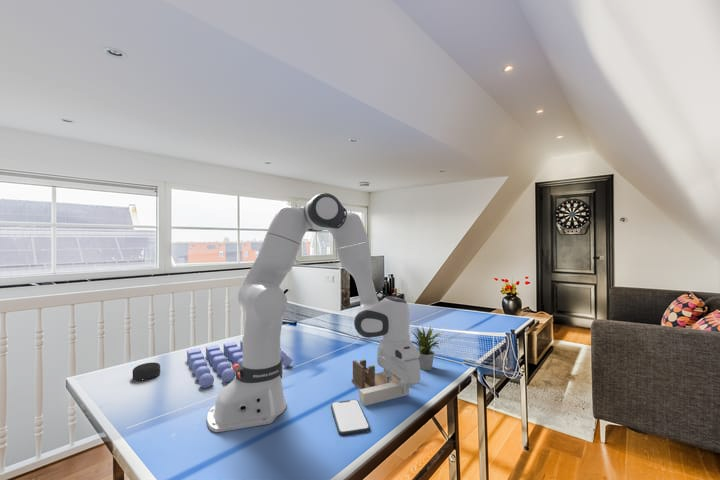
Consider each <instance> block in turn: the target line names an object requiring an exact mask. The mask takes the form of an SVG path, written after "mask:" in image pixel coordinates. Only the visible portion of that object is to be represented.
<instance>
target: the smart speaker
mask: <svg viewBox="0 0 720 480" xmlns="http://www.w3.org/2000/svg"><path fill="white" fill-rule="evenodd" d="M160 374H161V364H160V363H158V362H146V363H142V364H139V365H136V366H135V367H134V368H133V369H132V379H133V380H135V379H136V380H135V381H143V380H142V379H148V380H150V379H149V378H151V379H154V378H155V376H156V377H158V376H159V375H160ZM157 375H158V376H157ZM153 377H154V378H153Z"/></svg>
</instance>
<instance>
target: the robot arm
mask: <svg viewBox="0 0 720 480" xmlns="http://www.w3.org/2000/svg"><path fill="white" fill-rule="evenodd" d="M322 231H329V232H330V233H331V235H332V238H333V239H334V244H335V249H336V252H337V257H338V259H339V262H340V265H341V266H342V268H343V269H344V270H345V271H346V272H348V273H349V274H350V275H351V276H352V278H353V280H354V282H355V285H356V288H357V293H358V298H359V301H360V306H359V311H358V312H357V314H356V316H355V317H354V322H353V323H354V325H353V326H354V329H355V331H356V333H358V335H360V336H361V337H364V338H368V339H369V338H377V337H382V339H380V341H379V344H378V347H377V354H376V356H377V357H376V362H377V365H378V367H381V368H382V369H383V372H384V373H385V376H386V382H388V383H391V382H393V380H392V379H393V377H391V373H392V374H393V375H395V376H396V377H398V378H399V379H401V380H402V381H403V382H404V384H405V385H404V387H403V388H402V393H403V394H405V396H408V395H409V393H410V388H411V386H414V385H417V384H419V383H420V382H421V381H420V380H421V369H420V363H419V360H418V357H420V352H419V348H417V347H416V346H415V344H414V343H412V342H411V341H412V340H411V337H410V331H409V329H410V323H411V322H410V320H411V319H410V310H409V304H408V302H407V301H406V300H405V299H404V298H401V297H397V296H395V295H393V296H392V295H391V296H385V297H384V298H383V299H381V300H380V299H379V297H378V295H377V290H376V286H375V282H374V279H373V274H372V255H371V254H372V253H371V248H370V247H371V246H370V242H369V239H368V234H367V232H366V228H365V226H364V223H363V221H362V219H361V217H360V215H358V214H357V213H355V212H351V211H350V212H348V211H347V209H346V208H345V207H344V206H343V205H342V203H341V201H340V200H339V199H338V198H337V196H335V195H334V194H331V193H328V192H323V193H318V194H316V195H314V196H312V198H311V199H309V200H308V201H307V202H306V204H304V206H302V207H297V206H295V205H284V206H283V205H282V207H280V208H279V209H278V211H277V212H276V214H274V217H273V219H272V220H271V223H270V224H269V227H268V229H267V230H266V234H265V237H264V239H263V242H262V243H261V245H260V246H261V247H260V248H259V251H258V254H257V257H256V258H255V261H254V263H253V264H252V265H251V268H250V269H249V271H248V273H247V275H246V277H245V279H244V281H243V283H242V284H241V286H240V287H239V290H238V294H237V298H238V299H237V301H238V303H239V304H238V305H240V307H241V308H242V310H243V311H244V312H245V324H244V325H245V326H244V333H243V335H242V340H241V341H242V342H243V363H242V364H241V365H240V366H239V365H238V364H237V363H236V364H234V365H233V364H232V366H231V369H233V371H234V372H235V374H236V375H235V378H234V380H233V381H231V382H228V384H227V385H225V386H224V387H223V388H222V389H221V390H219V392H218V394H217V397H216V401H215V404H214V406H212V407H211V408H210V409H209V410H208V411H207V415H206V424H207V427H208V429H209V430H210V431H211V432H213V433H220V432H226V431H227V432H228V431H233V430H239V429H246V428H251V427H257V426H263V425H269V424H272V423H273V422H274V421H275V419H276V418H277V417H278V416H280V415H281V414H282V413H283V412H284V411H285V410H286V408H287V401H286V399H285V395H284V389H283V382H282V379H283V364H282V360H281V359H280V348H281V334H282V327H283V321H284V315H285V314H286V311H287V309H288V298H287V296H286V294H285V293H284V292H285V291H283V290H282V288H281V287H280V286H281V285H282V283H283V281H284V280H285V278H286V276H287V275H288V273H289V272H290V271H291V270H292V269H293V267H294V263H295V261H296V257H297V255H298V252H299V250H300V247H301V244H302V241H303V238H304V236H305V234H306V233H307V232H322ZM407 394H408V395H407Z"/></svg>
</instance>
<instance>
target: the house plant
mask: <svg viewBox="0 0 720 480" xmlns="http://www.w3.org/2000/svg"><path fill="white" fill-rule="evenodd" d="M416 330H417V333H416V334H415V333H414V332H413V331H411V333H412V334H413V335H414V336H415V338H416V339H417V341H415V340H414V341H413V340H410V341H411V342H412V344H413V345H416V346H417V347H418V350H419V352H420V357H418V360H419V363H420V370H423V371H430V370H432V369H433V364H434V358H435V357H434V356H435V352H434V350H432V349H434V348H435V347H437V348H438V349H440V346H438V344H439V342H441V340H440V339H439V340H436V341H435V338H437V337H438V338H439V336H442V334H440V333H443V331H440V332H437V333H436V334H434V335H432V334H433V330H434V328H432V327H431V326H430V327H429V328H428V331H427V333H426V332H425V328H424V326H423V325H422V331H421V330H420V329H419V328H418V327H416Z"/></svg>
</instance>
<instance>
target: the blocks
mask: <svg viewBox="0 0 720 480" xmlns="http://www.w3.org/2000/svg"><path fill="white" fill-rule="evenodd" d="M239 344H240V345H239V346H238V344H237V343H236V342H235V341H231V342H225V343H223V350H221V348H220V346H219V345H218V344H215V345H208V346H205V356H204V354H203V353H202V350H201V348H200V347H198V348H193V349H187V350H186V354H187V355H186V361H187V364H188V363H190V364H189V368H190V369H191V371H192V374H193V375H194V376H195V379H196V381H198V384H199V386H200V388H202V389H206V388H210V387H212V385H213V384H214V382H215V378H214V375H213V374H212V373H211V369H210V368H209V366H208V362H210V363H209V364H210V366H212V368H213V370H214V371H216V370H217V371H216V373H217V376H219V377H221V381H222V382H224V383H226V384H227V383H230V382H232V381H233V380H234V379H235V378H236V374H235V372H234V371H233V368H232V366H233V365H234V364H236V363H237V364H238V365H239V366H240V365H241V364H242V363H243V342H242V340H240V342H239ZM225 355H226V356H225ZM206 357H207V358H206ZM205 358H206V359H207V360H208V359H209V360H208V362H207V361H206V359H205ZM280 359H281V360H282V366H285V367H286V368H288V367H289V366H291V363H292V362H293V361H294V360H293V359H292V358H291V357H290V356H288V354H287V353H286V352H284V350H282V348H281V347H280ZM228 361H229V362H231V363H232V365H231V364H230V363H229V362H228Z"/></svg>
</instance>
